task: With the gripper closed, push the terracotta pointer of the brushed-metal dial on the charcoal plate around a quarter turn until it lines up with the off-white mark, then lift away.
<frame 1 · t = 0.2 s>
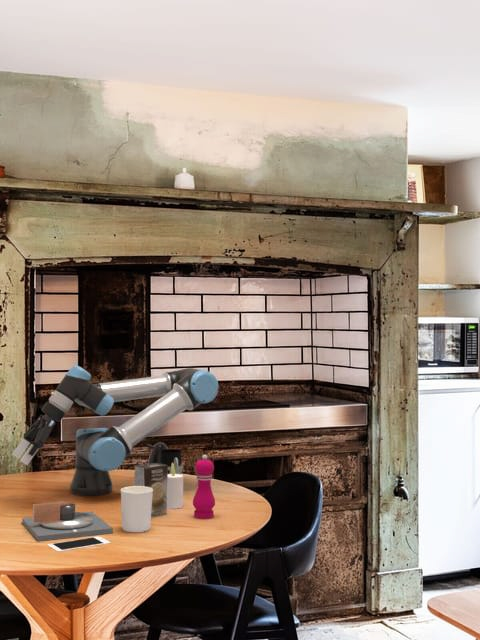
hand: (19, 460, 272), 16 cm above the table, tool tilted 35°, fingers open, 13 cm apart
picture frame: (172, 493, 296), on the table
pump dispenser: (159, 482, 316), on the table
cell phone: (79, 546, 230), on the table
coffee box: (150, 515, 265), on the table
dial plate: (66, 528, 246), on the table
candle holder: (136, 529, 247), on the table
dial: (63, 512, 246), point 5 cm above the table, hinge at 0.0°
candle: (173, 507, 276), on the table
pepper mill: (203, 517, 263), on the table
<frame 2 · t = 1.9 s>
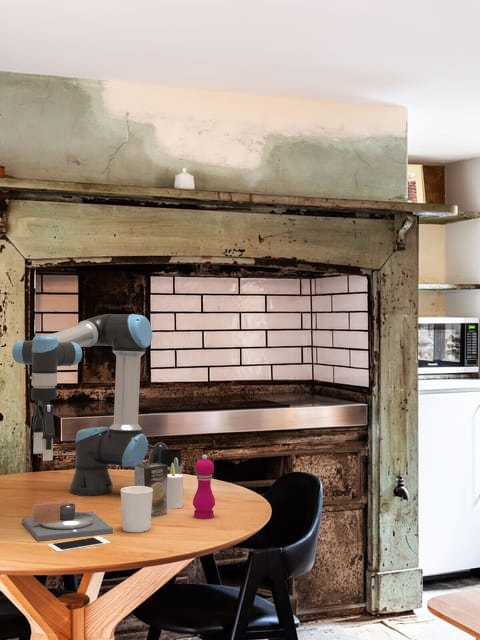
hand: (42, 456, 248), 21 cm above the table, tool pointing down, fingers open, 13 cm apart
nothing on the table moved.
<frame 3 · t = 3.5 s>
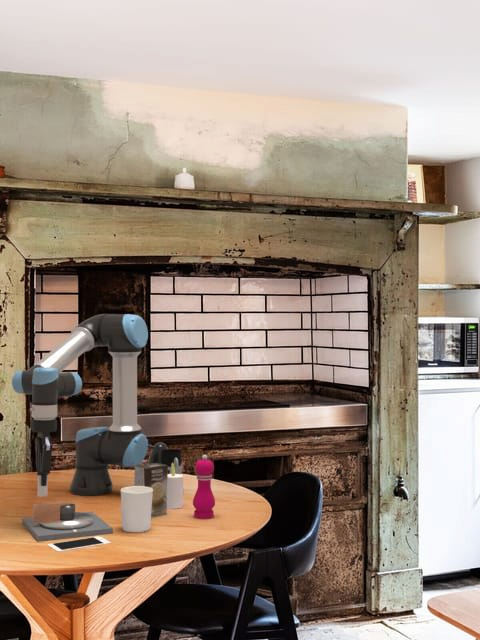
hand: (42, 495, 248), 9 cm above the table, tool pointing down, fingers closed
nothing on the table moved.
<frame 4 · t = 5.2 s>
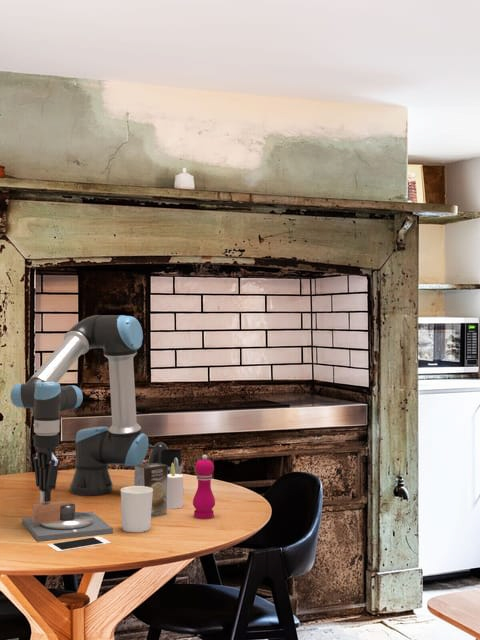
hand: (45, 511, 245), 5 cm above the table, tool pointing down, fingers closed
dial: (63, 512, 246), point 5 cm above the table, hinge at 0.4°, touching gripper
everything else where it was.
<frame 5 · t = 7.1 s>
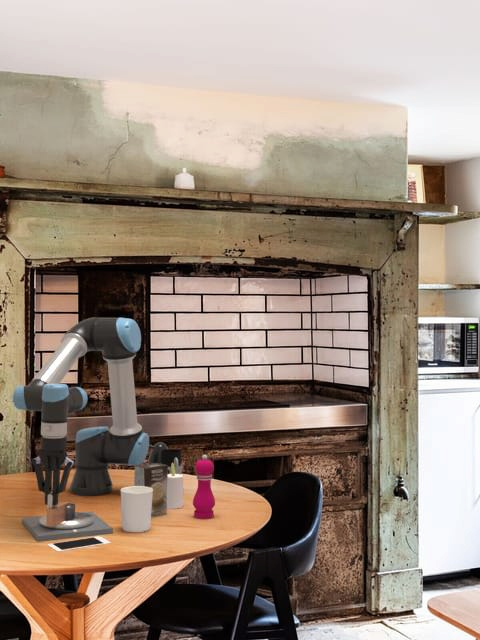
hand: (51, 515, 241), 5 cm above the table, tool pointing down, fingers closed
dial: (65, 512, 245), point 5 cm above the table, hinge at 46.2°, touching gripper
everything else where it was.
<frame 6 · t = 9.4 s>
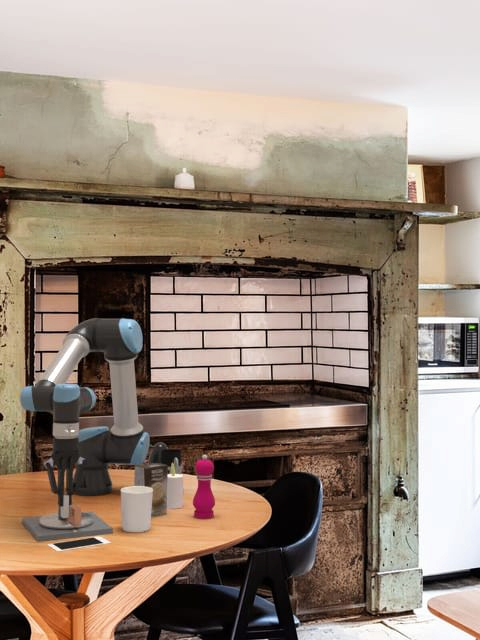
hand: (64, 516, 240), 5 cm above the table, tool pointing down, fingers closed
dial: (67, 512, 245), point 5 cm above the table, hinge at 94.0°
everything else where it was.
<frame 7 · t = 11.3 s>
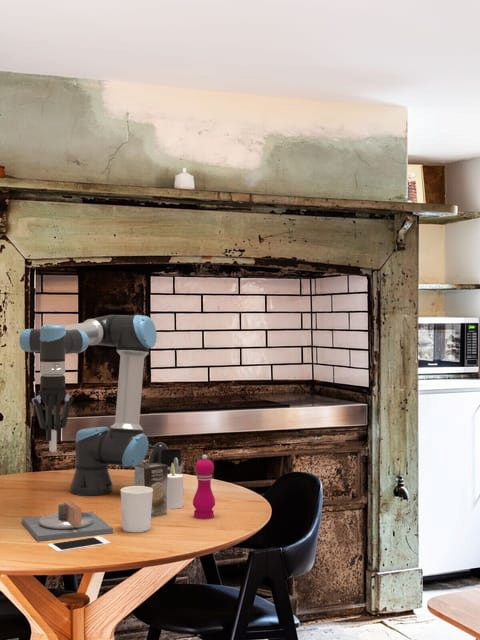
hand: (52, 450, 252), 22 cm above the table, tool pointing down, fingers closed
nothing on the table moved.
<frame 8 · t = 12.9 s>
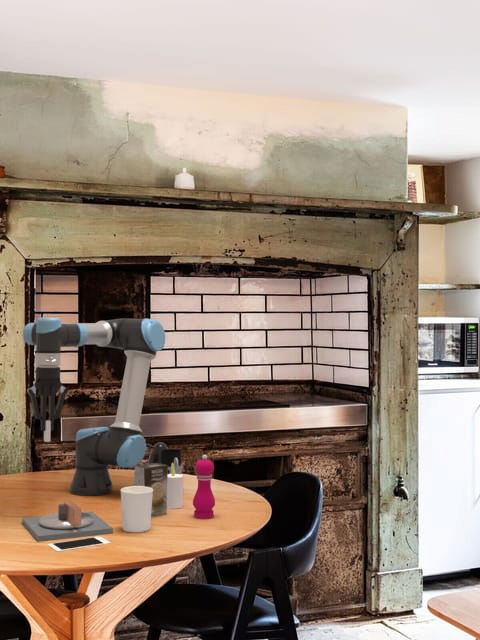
hand: (47, 441, 257), 24 cm above the table, tool pointing down, fingers closed
nothing on the table moved.
at the end: dial at +94° (first picture: +0°) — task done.
